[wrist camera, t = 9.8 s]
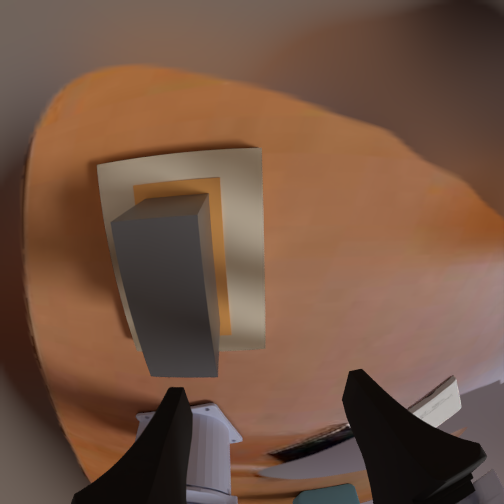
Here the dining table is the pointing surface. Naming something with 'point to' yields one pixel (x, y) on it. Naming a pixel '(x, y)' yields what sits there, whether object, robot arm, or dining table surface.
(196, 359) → the block
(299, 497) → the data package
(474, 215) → the dining table surface
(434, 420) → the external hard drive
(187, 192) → the board
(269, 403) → the dining table surface
